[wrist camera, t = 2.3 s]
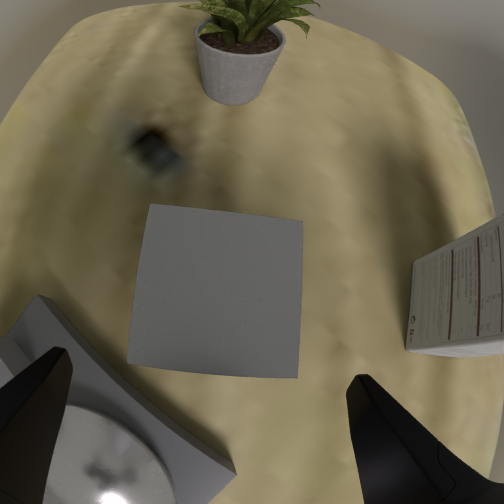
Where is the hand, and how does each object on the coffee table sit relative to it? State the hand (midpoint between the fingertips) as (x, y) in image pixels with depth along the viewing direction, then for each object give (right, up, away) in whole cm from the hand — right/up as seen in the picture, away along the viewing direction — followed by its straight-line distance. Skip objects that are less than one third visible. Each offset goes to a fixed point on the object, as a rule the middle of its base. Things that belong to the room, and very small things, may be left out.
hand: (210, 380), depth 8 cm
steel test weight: (-1, -1, +10) cm, 10 cm away
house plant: (0, +20, +17) cm, 26 cm away
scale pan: (-9, -10, +4) cm, 14 cm away
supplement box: (+17, -1, +13) cm, 21 cm away
